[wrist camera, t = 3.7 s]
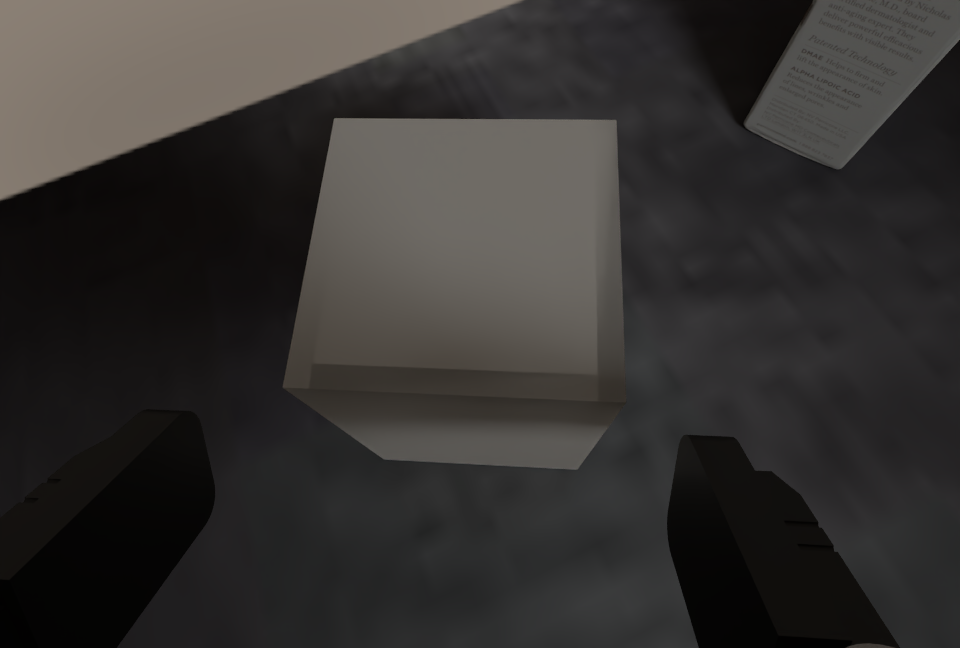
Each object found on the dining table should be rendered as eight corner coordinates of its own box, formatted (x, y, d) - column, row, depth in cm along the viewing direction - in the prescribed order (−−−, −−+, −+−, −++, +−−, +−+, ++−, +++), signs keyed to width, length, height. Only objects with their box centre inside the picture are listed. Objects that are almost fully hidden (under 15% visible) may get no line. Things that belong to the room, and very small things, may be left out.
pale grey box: (576, 291, 21) (616, 119, 13) (576, 469, 19) (626, 402, 10) (404, 286, 22) (334, 118, 13) (384, 459, 19) (282, 387, 11)
